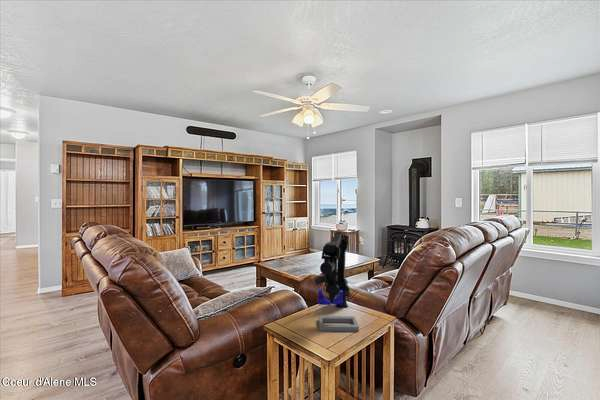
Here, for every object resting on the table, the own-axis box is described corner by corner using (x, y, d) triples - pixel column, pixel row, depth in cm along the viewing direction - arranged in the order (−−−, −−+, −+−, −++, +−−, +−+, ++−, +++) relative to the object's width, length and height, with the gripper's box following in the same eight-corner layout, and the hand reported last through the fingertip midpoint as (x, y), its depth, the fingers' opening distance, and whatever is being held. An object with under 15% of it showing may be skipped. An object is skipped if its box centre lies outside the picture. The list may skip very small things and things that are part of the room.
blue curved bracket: (318, 304, 143) (318, 292, 143) (318, 301, 147) (318, 289, 147) (342, 305, 142) (343, 293, 141) (342, 302, 146) (342, 290, 146)
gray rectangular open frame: (318, 319, 148) (318, 316, 148) (354, 320, 148) (354, 316, 148) (320, 330, 136) (320, 326, 136) (358, 331, 136) (358, 327, 136)
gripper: (314, 264, 154) (314, 294, 154) (315, 274, 135) (314, 308, 135) (336, 265, 153) (335, 294, 154) (339, 274, 135) (339, 308, 135)
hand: (331, 301), depth 144 cm, fingers closed on blue curved bracket, 4 cm apart
